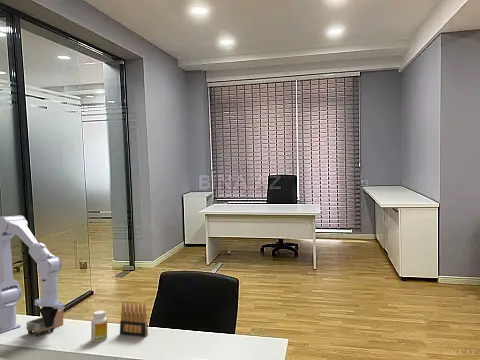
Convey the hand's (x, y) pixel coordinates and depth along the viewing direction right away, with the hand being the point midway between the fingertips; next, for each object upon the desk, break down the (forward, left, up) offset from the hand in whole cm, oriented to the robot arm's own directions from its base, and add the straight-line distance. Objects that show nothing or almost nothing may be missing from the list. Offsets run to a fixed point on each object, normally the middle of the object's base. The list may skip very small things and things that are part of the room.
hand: (48, 326), depth 142 cm
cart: (-5, 0, -3) cm, 5 cm away
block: (-7, +7, -3) cm, 10 cm away
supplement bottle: (+20, +5, -3) cm, 21 cm away
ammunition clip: (+28, +14, -3) cm, 32 cm away
